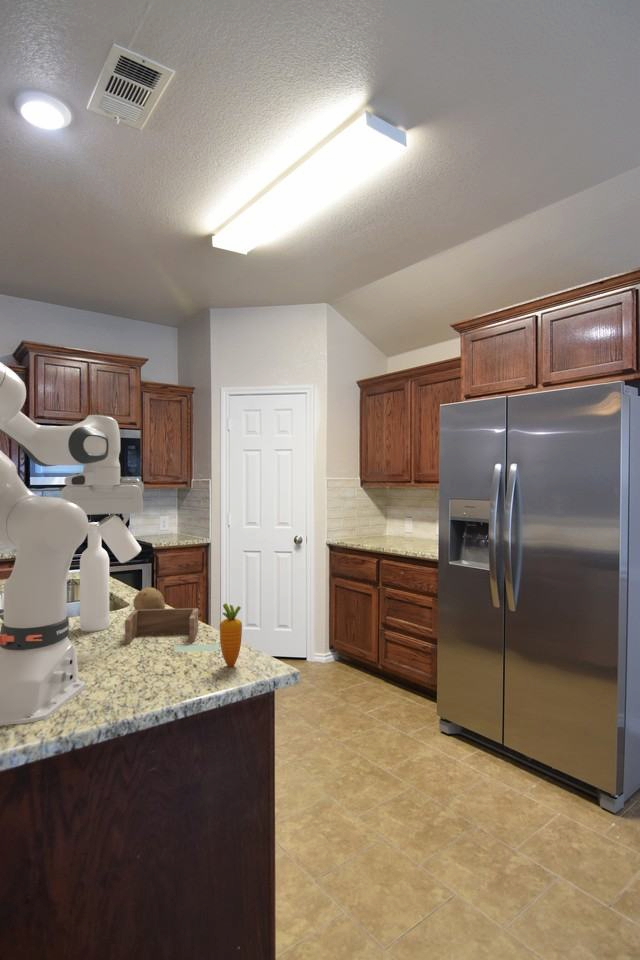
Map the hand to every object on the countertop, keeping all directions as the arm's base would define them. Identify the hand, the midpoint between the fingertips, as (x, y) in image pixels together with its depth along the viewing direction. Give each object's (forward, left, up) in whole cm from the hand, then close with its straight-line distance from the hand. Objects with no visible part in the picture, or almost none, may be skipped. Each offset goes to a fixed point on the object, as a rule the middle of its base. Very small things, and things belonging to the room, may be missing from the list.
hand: (102, 531), depth 138 cm
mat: (-11, -25, -29) cm, 40 cm away
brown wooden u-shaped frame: (+3, -15, -29) cm, 33 cm away
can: (+3, -7, -7) cm, 10 cm away
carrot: (-22, -34, -29) cm, 50 cm away
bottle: (+14, +6, -29) cm, 33 cm away
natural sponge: (+20, -8, -29) cm, 36 cm away
